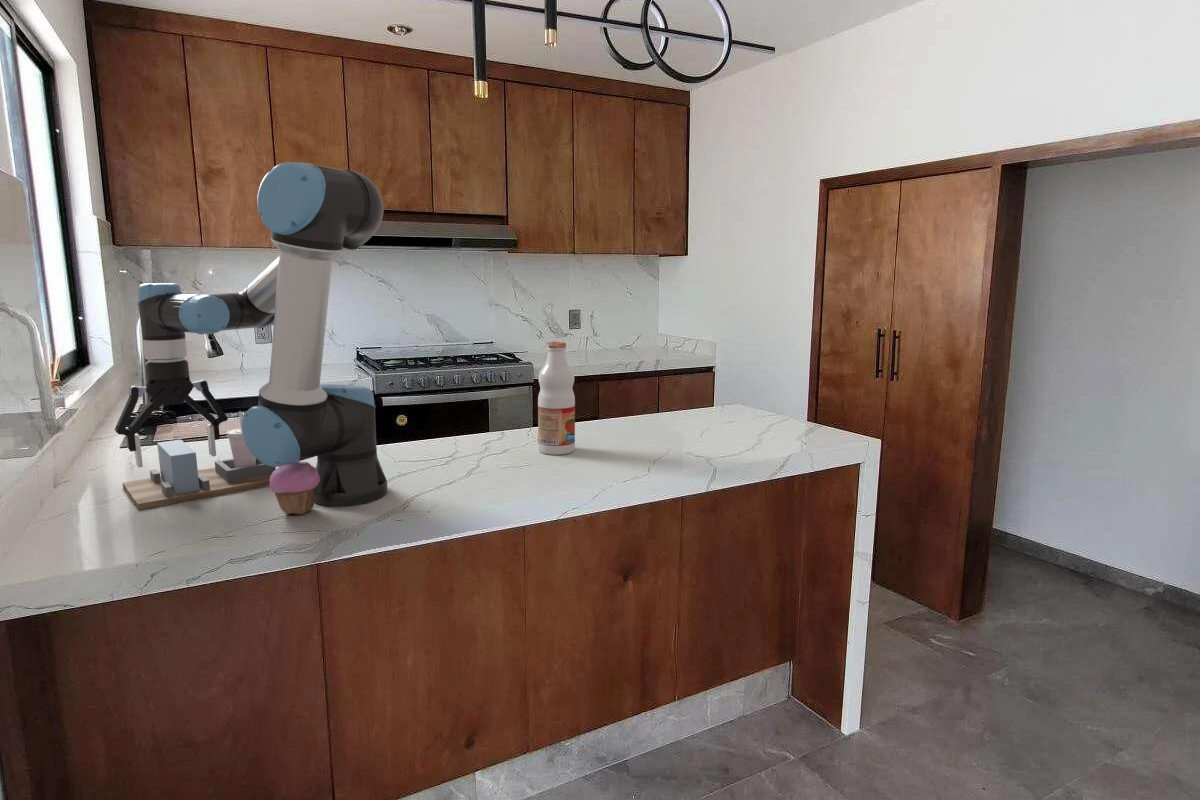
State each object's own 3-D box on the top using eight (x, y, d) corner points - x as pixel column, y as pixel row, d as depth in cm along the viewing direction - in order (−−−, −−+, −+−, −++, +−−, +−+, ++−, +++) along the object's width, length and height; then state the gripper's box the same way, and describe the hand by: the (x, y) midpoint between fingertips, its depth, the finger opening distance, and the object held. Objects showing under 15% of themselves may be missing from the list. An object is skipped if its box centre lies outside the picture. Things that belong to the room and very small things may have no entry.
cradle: (276, 473, 160) (275, 462, 160) (227, 482, 154) (226, 471, 153) (262, 464, 167) (261, 453, 167) (215, 472, 161) (214, 461, 161)
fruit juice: (537, 446, 190) (536, 340, 185) (573, 445, 191) (573, 340, 186) (539, 456, 181) (538, 344, 176) (576, 455, 182) (576, 344, 177)
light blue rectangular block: (161, 478, 156) (157, 442, 154) (184, 474, 159) (181, 439, 157) (174, 494, 146) (170, 456, 144) (199, 490, 148) (195, 452, 147)
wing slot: (210, 489, 149) (209, 480, 148) (166, 497, 144) (165, 487, 143) (191, 472, 161) (190, 463, 160) (150, 479, 156) (149, 470, 155)
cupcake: (328, 504, 144) (324, 456, 142) (312, 520, 135) (308, 468, 133) (282, 505, 143) (279, 456, 141) (264, 520, 135) (260, 468, 133)
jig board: (287, 482, 158) (287, 477, 158) (138, 509, 140) (137, 503, 140) (262, 464, 171) (261, 459, 171) (123, 487, 153) (122, 482, 153)
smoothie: (226, 478, 157) (221, 415, 154) (233, 469, 163) (228, 409, 160) (259, 476, 158) (253, 413, 156) (264, 468, 164) (259, 407, 162)
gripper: (227, 353, 158) (236, 447, 162) (90, 362, 142) (103, 466, 146) (237, 356, 152) (246, 454, 156) (95, 367, 136) (109, 475, 140)
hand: (177, 460), depth 151 cm, fingers open, 13 cm apart
